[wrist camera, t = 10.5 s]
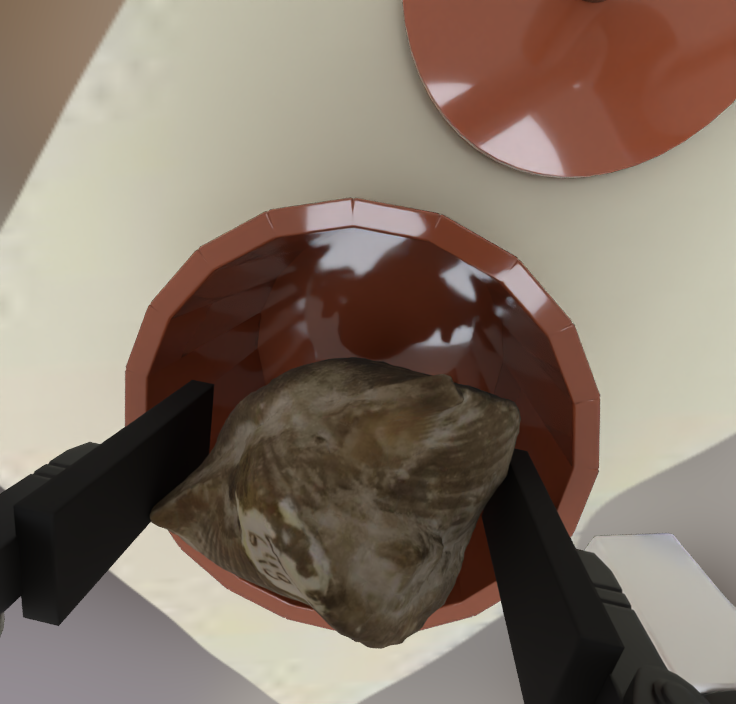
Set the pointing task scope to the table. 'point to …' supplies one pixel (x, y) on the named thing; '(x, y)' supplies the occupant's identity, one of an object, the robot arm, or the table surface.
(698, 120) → the lid
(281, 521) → the fossilized seashell
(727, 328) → the table surface
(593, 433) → the pot
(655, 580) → the jar
